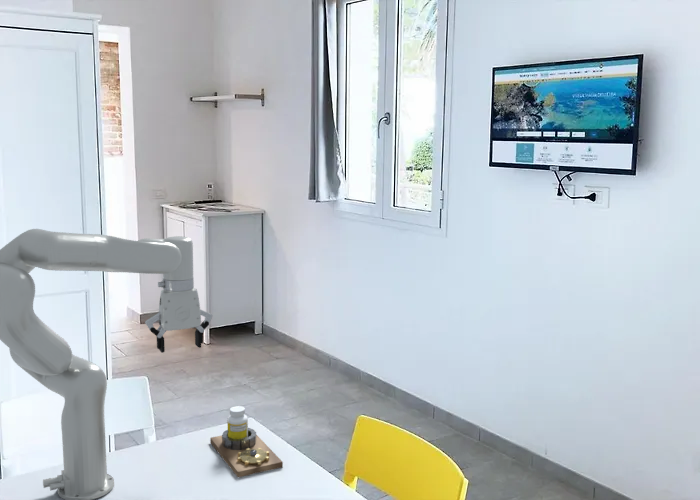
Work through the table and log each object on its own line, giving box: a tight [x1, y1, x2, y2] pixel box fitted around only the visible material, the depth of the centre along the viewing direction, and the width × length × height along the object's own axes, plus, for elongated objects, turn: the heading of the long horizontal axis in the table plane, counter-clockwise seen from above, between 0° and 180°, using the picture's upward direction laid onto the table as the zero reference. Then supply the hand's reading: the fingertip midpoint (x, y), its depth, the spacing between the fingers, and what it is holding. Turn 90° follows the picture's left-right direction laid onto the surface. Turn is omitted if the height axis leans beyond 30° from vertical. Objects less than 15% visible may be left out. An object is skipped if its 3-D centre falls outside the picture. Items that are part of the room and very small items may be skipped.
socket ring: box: [221, 427, 257, 450], centre depth 191 cm, size 9×9×2 cm
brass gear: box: [237, 448, 269, 466], centre depth 182 cm, size 8×8×2 cm
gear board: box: [210, 434, 284, 478], centre depth 188 cm, size 12×22×2 cm, turn 29°
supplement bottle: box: [226, 405, 249, 439], centre depth 191 cm, size 5×5×10 cm
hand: (180, 348), depth 185 cm, fingers open, 9 cm apart
